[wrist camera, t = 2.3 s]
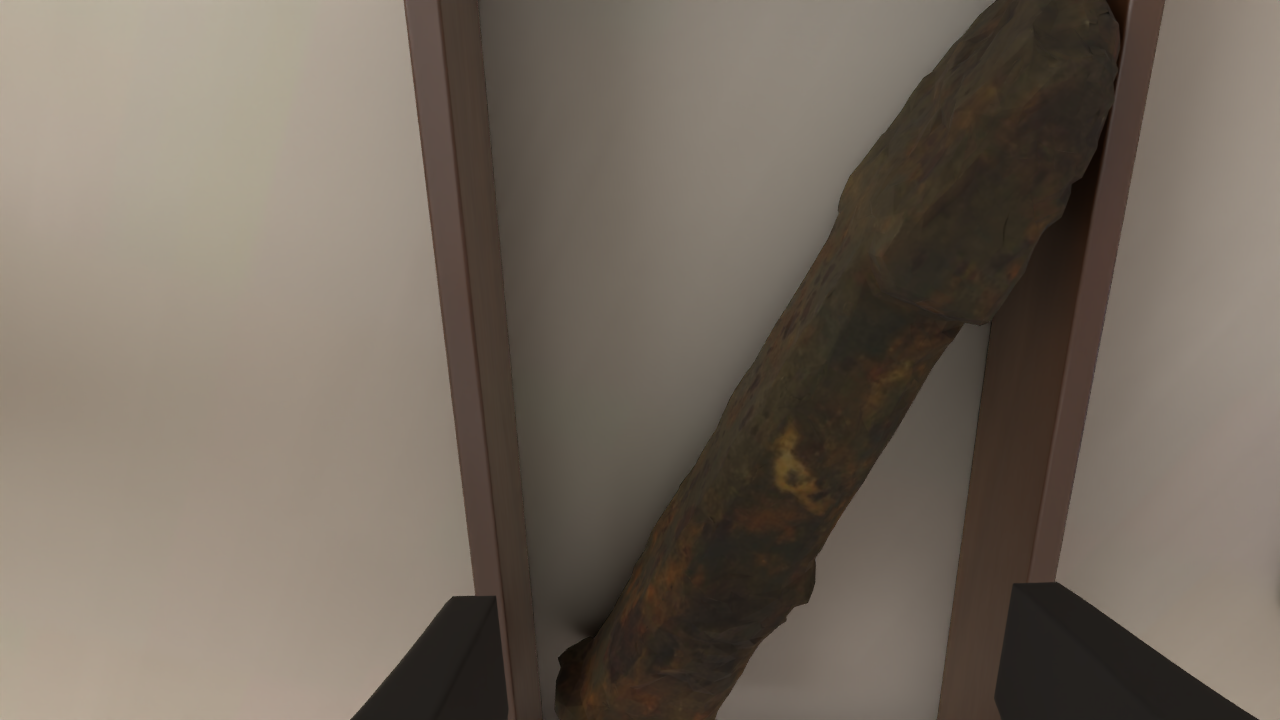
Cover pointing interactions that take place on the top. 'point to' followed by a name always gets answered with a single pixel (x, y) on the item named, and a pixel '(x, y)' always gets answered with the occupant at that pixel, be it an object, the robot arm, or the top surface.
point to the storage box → (1012, 390)
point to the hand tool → (854, 353)
